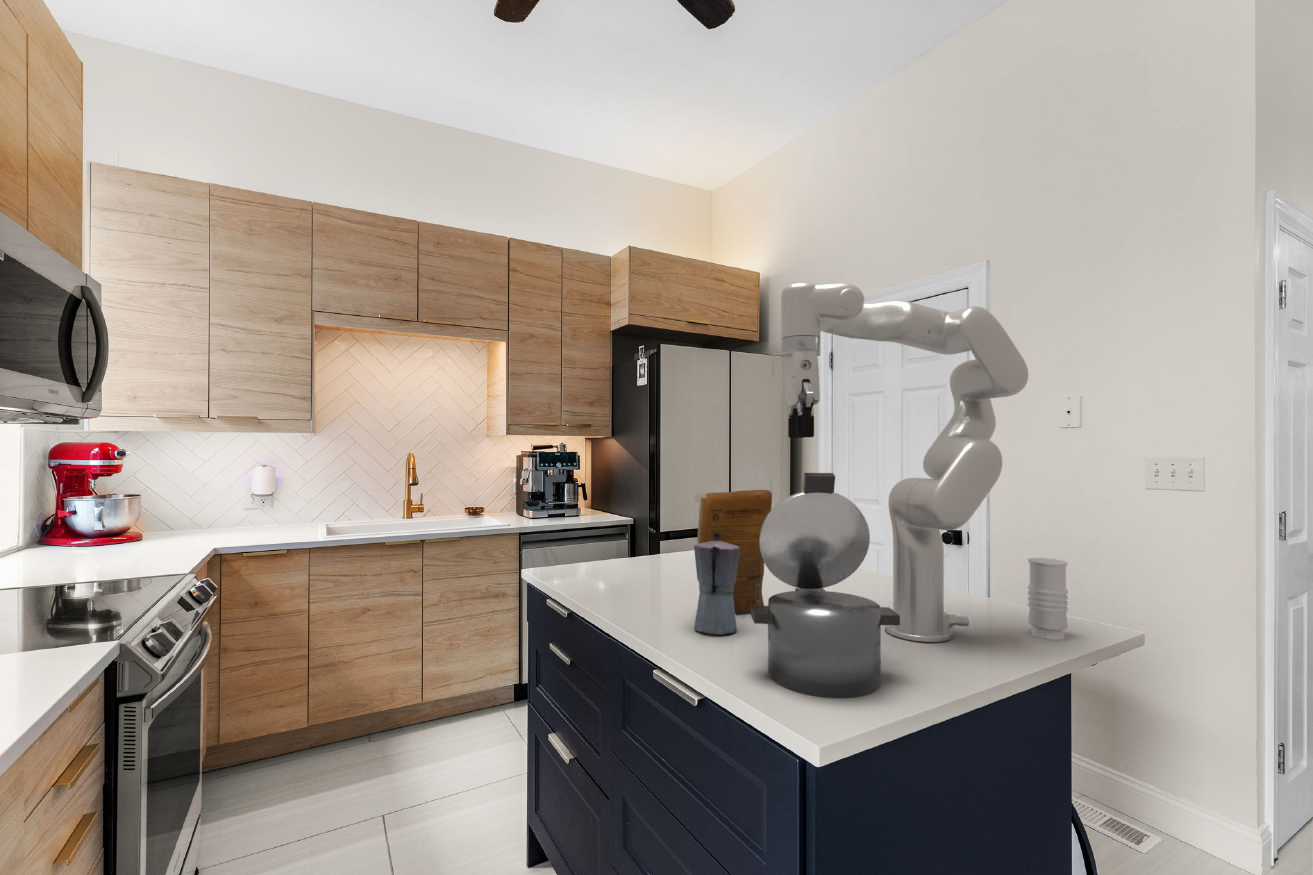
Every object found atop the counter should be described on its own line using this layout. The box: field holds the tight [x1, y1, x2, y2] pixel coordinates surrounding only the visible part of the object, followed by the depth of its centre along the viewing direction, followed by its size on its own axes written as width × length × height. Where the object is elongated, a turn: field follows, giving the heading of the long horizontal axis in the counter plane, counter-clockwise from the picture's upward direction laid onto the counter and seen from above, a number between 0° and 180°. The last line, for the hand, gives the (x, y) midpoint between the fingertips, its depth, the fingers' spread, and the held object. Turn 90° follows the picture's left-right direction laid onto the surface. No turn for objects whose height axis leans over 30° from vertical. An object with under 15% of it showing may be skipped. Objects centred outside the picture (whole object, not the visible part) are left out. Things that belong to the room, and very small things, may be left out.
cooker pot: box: [750, 587, 900, 699], centre depth 103 cm, size 23×20×12 cm
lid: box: [759, 472, 871, 589], centre depth 110 cm, size 22×19×4 cm
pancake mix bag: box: [696, 489, 773, 615], centre depth 141 cm, size 7×19×28 cm, turn 107°
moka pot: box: [693, 533, 740, 635], centre depth 127 cm, size 10×15×20 cm, turn 174°
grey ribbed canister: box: [1027, 557, 1069, 641], centre depth 125 cm, size 7×7×15 cm
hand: (800, 437), depth 121 cm, fingers open, 7 cm apart
